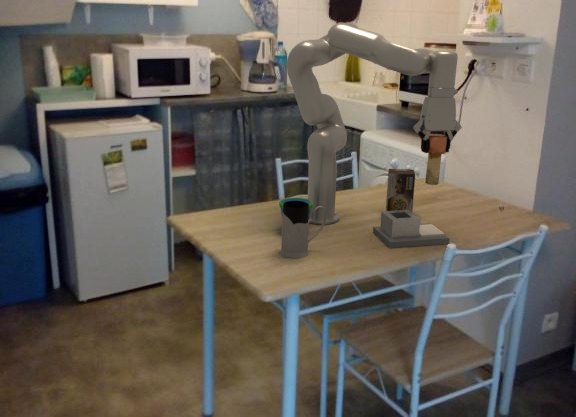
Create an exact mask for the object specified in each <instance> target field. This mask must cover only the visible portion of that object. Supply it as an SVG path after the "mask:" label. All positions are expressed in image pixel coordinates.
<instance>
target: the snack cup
mask: <svg viewBox="0 0 576 417" xmlns="http://www.w3.org/2000/svg"><path fill="white" fill-rule="evenodd" d="M287 201H303V202H306V203H308V204H309V217H310V210H311V208H312V207H313V204H312V202H311V201H310V200H308V198H303V197H288V198H287V197H285V198H283V199H281V200H280V201H279V202H278V206H279V208H280V213H281V215H280V216H282V213H283V203H284V202H287ZM309 217H308V220H309Z"/></svg>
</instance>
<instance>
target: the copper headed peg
mask: <svg viewBox="0 0 576 417" xmlns="http://www.w3.org/2000/svg"><path fill="white" fill-rule="evenodd" d="M428 140H429V146H428V153H427V163H426V174H425V184H427V185H431V186H437V185H439V184H440V183H439V182H440V172H441V160H442V155H445V154H447V152H446V145H447V136H446V135H444V134H442V133H441V134H439V133H430V135H429V137H428Z"/></svg>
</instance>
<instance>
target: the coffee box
mask: <svg viewBox="0 0 576 417" xmlns="http://www.w3.org/2000/svg"><path fill="white" fill-rule="evenodd" d="M387 174H388V175H387V187H386V188H387V189H386V198H385V199H386V200H385V201H386V202H385V204H386V205H385V211H397V210H409V211H410V212H412V213H413V211H414V209H413V208H414V196H415V182H416V173H415V169H405V168H404V169H403V168H388V173H387Z"/></svg>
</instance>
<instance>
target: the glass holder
mask: <svg viewBox="0 0 576 417" xmlns="http://www.w3.org/2000/svg"><path fill="white" fill-rule="evenodd" d="M318 208H324V207H322V206H318V207H316V208H315V209H314V211H313V214H312V219H311V220H308V217H309V204H308V203H306V202H303V201H287V202H284V203H283V213H282V215H281V246H280V250H279V254H280V255H281V256H283V257H284V258H285V257H286V258H288V259H301V258H306V257H307V256H309V255H310V252H309V244H310V242H311V241H312V240H313V239H315V237H316V236H317V235H318V234H319V233H321V231H322V230H323V228H324V227H325V225H326V224H325V222H326V217H327V211H326V209H325V208H324V210H325V219H324V222H323V224H321V226H320V228H318V230H317V231H316V232H315V233H314V234H313V235H312V236H311V237H310V238H309V231H310V230H309V226H310V223H309V222H310V221H312V220H313V219H314V213H315V211H316V210H317V209H318Z"/></svg>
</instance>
